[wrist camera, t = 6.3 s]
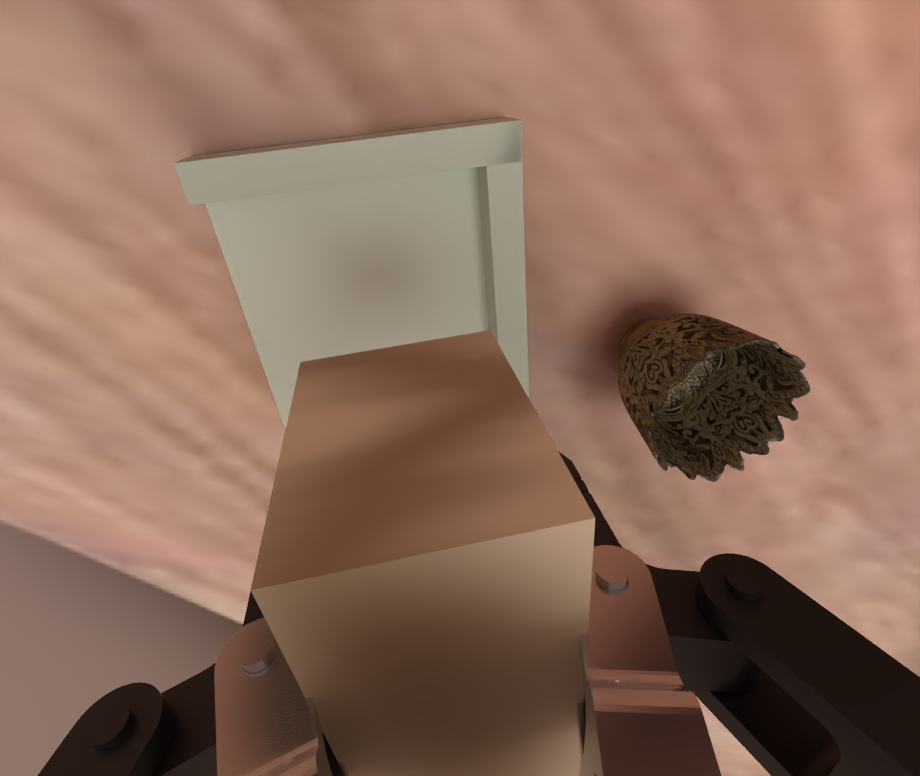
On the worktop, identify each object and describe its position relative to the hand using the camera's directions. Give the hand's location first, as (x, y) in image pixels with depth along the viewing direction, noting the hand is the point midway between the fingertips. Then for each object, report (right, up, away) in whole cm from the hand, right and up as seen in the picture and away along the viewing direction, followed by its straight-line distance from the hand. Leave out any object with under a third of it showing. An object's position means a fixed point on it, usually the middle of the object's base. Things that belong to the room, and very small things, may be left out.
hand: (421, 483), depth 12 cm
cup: (+12, +5, +17) cm, 21 cm away
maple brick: (0, 0, 0) cm, 0 cm away
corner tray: (-3, +8, +13) cm, 15 cm away
